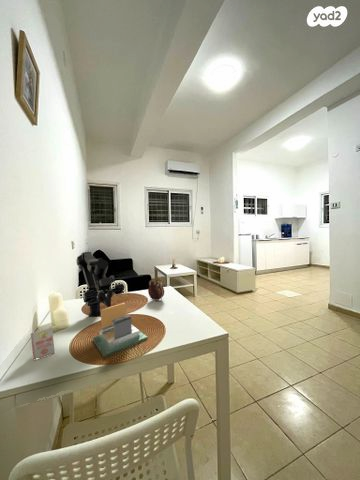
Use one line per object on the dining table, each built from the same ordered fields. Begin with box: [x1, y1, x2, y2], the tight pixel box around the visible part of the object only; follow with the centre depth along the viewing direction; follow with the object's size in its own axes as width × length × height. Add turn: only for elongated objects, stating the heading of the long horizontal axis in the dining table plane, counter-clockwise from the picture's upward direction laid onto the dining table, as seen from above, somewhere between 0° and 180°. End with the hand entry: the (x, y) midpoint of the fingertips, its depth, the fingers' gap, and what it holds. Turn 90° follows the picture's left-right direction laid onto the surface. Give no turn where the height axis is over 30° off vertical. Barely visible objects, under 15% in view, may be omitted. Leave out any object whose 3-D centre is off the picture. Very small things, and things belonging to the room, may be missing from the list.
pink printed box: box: [30, 326, 55, 360], centre depth 77 cm, size 4×7×10 cm, turn 126°
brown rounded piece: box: [147, 277, 165, 302], centre depth 130 cm, size 11×5×15 cm, turn 58°
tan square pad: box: [100, 302, 127, 330], centre depth 88 cm, size 1×11×9 cm, turn 128°
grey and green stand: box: [92, 314, 148, 359], centre depth 85 cm, size 16×18×11 cm
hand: (109, 307), depth 92 cm, fingers closed
